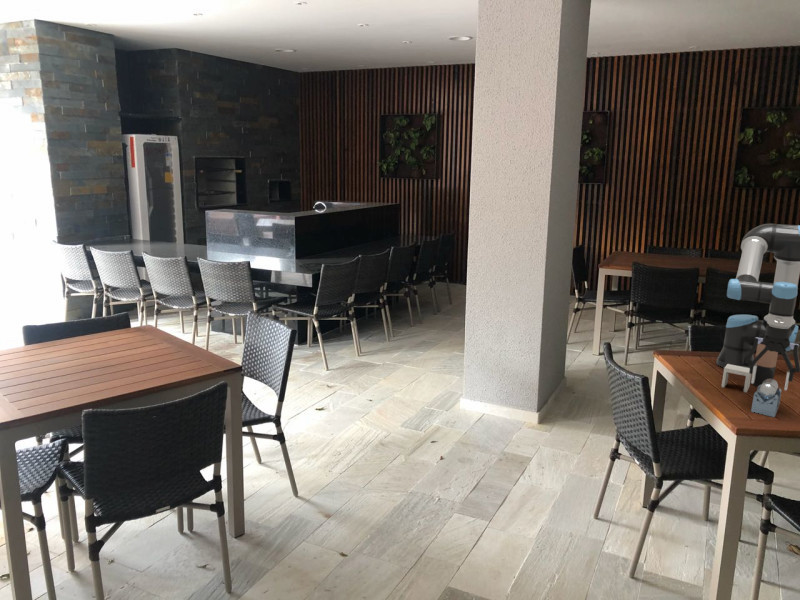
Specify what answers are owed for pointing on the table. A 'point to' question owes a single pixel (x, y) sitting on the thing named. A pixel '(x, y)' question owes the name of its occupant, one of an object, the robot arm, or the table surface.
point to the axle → (768, 389)
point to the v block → (766, 403)
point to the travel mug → (765, 364)
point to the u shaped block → (736, 370)
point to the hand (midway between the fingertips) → (768, 385)
